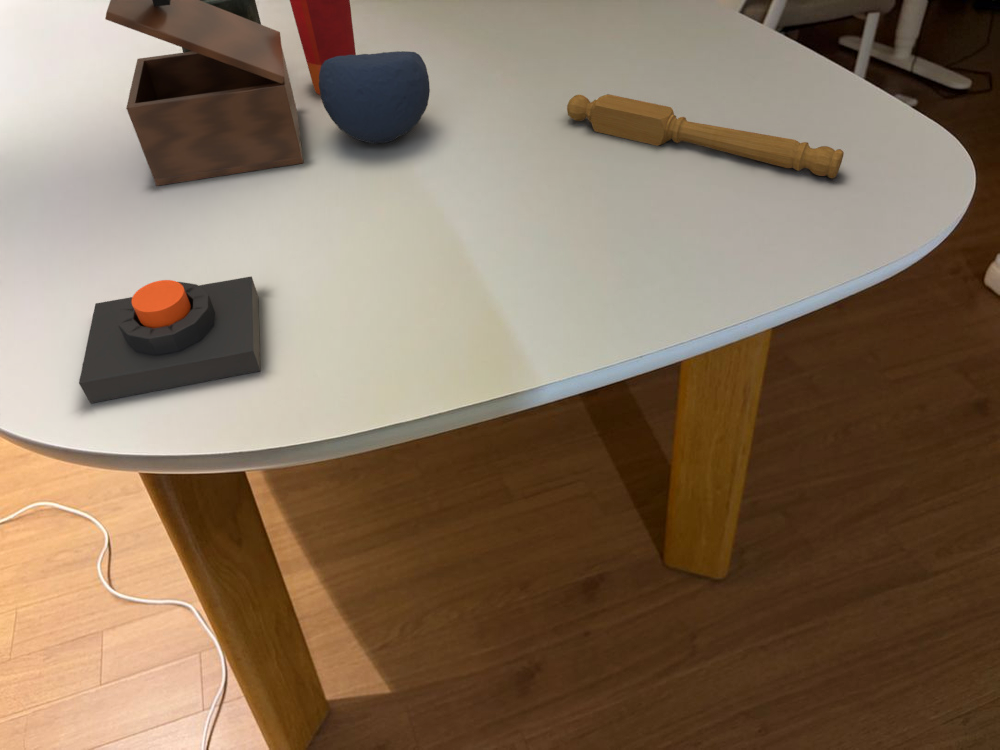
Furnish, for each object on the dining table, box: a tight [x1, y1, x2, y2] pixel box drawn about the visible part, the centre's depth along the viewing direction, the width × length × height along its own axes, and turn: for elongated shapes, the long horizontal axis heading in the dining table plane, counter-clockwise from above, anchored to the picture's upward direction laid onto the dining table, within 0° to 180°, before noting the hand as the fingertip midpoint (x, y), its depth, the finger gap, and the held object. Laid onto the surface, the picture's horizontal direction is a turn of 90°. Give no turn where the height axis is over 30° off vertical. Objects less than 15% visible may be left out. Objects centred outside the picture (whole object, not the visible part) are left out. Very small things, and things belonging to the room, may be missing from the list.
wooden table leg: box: [566, 93, 845, 179], centre depth 85 cm, size 3×3×30 cm
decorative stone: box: [319, 50, 431, 145], centre depth 88 cm, size 12×12×10 cm
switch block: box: [78, 276, 261, 404], centre depth 65 cm, size 13×10×4 cm
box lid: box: [104, 0, 285, 84], centre depth 82 cm, size 16×13×1 cm
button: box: [131, 279, 191, 328], centre depth 63 cm, size 4×4×2 cm
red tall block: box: [289, 0, 357, 96], centre depth 96 cm, size 8×8×14 cm
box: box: [125, 44, 304, 187], centre depth 88 cm, size 16×13×9 cm
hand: (162, 0), depth 79 cm, fingers closed
